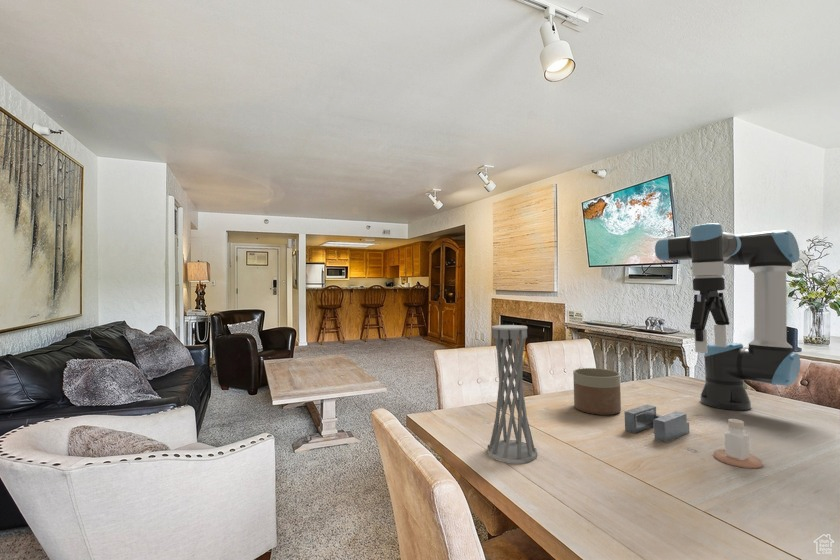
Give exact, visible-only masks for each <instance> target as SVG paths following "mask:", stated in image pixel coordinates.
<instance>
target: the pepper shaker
mask: <svg viewBox="0 0 840 560" xmlns="http://www.w3.org/2000/svg"><path fill="white" fill-rule="evenodd" d="M727 421H728V422H727V423H728V425H727V426H728V430H727V431H725V432H724V450H725V454H726V456H728V457H731V458H734V459H737V460H740V461H743V460H745V459H748V458H749V454H750V441H749V440H750V438H749V435H748V434H746V433H745V431H744V430H745V421H743V420H741V419H737V418H728V420H727Z"/></svg>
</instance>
